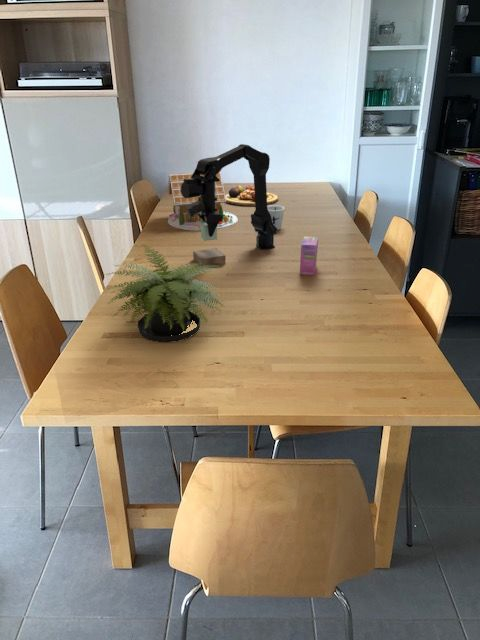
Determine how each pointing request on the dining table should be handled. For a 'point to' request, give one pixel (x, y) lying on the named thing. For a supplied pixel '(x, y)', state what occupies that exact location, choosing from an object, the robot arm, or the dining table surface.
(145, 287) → the fern plant
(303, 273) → the box
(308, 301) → the dining table surface
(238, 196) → the wooden plate with food
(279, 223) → the white cup
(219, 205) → the gingerbread house
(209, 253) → the walnut base
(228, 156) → the robot arm
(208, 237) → the green block
